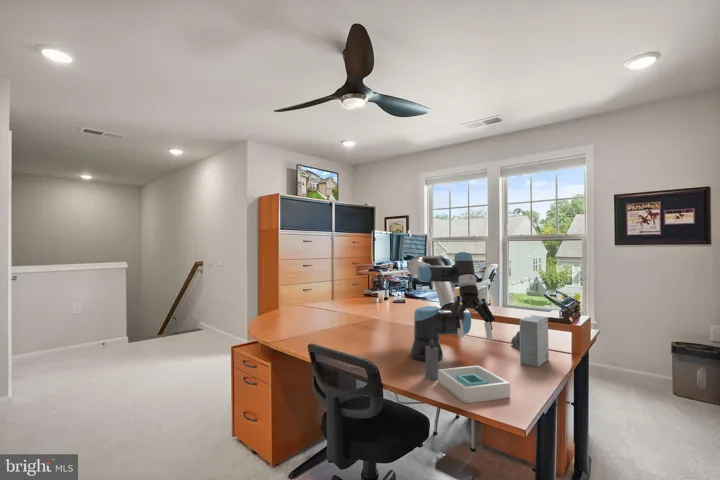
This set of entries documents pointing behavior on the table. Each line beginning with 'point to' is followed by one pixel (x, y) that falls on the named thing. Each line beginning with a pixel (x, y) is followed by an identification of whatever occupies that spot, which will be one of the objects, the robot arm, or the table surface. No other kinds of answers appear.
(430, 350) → the connector plug
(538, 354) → the hard drive box
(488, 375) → the walled box
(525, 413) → the table surface
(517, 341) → the mineral rock
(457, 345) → the table surface
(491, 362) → the table surface
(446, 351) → the table surface
